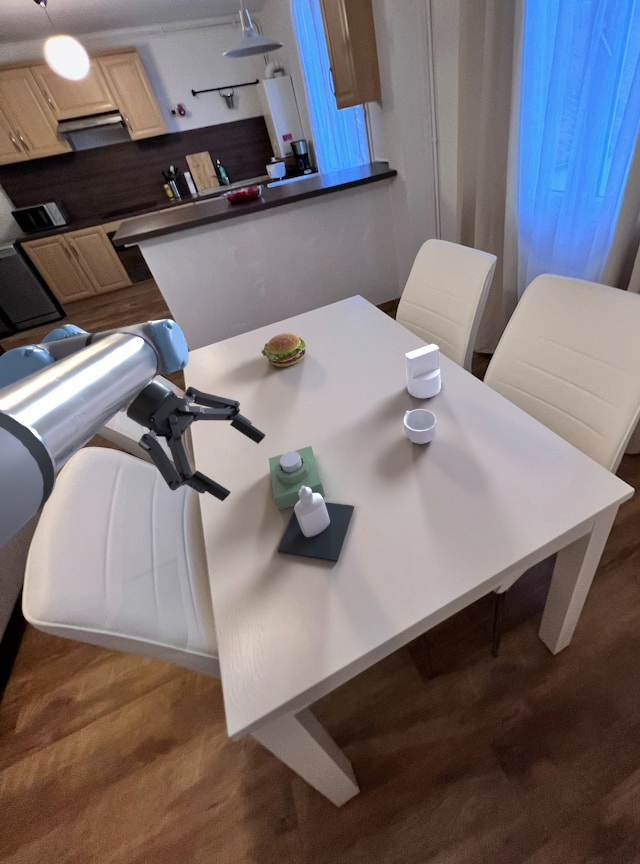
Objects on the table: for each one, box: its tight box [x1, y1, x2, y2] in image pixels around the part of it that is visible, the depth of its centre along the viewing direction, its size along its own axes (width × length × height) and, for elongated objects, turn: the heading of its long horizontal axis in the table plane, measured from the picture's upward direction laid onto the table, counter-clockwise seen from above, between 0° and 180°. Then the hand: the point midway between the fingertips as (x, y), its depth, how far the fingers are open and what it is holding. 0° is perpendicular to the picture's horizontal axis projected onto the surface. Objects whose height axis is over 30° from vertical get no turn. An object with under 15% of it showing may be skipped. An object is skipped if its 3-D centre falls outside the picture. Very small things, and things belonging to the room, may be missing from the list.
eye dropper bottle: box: [293, 486, 330, 537], centre depth 75 cm, size 4×6×12 cm
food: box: [261, 332, 307, 368], centre depth 132 cm, size 14×14×8 cm
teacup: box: [402, 408, 438, 445], centre depth 95 cm, size 10×8×5 cm
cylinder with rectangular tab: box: [404, 343, 442, 399], centre depth 107 cm, size 9×9×12 cm
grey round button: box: [280, 450, 302, 473], centre depth 86 cm, size 4×4×2 cm
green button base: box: [268, 445, 326, 511], centre depth 88 cm, size 12×10×6 cm
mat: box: [276, 501, 355, 563], centre depth 79 cm, size 12×12×1 cm
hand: (245, 466), depth 72 cm, fingers open, 13 cm apart
